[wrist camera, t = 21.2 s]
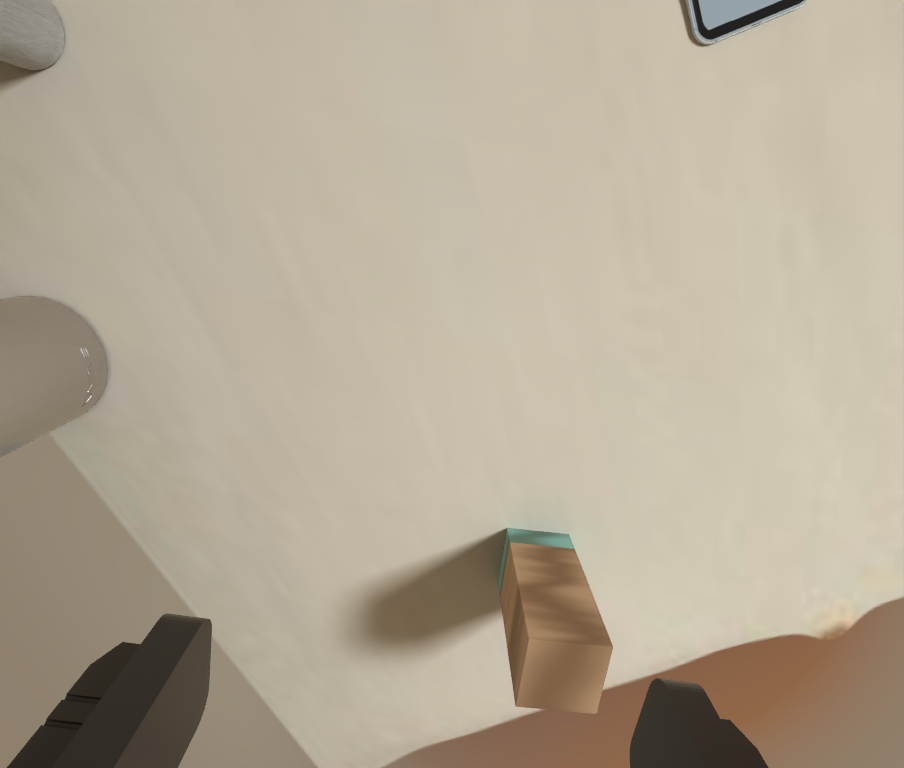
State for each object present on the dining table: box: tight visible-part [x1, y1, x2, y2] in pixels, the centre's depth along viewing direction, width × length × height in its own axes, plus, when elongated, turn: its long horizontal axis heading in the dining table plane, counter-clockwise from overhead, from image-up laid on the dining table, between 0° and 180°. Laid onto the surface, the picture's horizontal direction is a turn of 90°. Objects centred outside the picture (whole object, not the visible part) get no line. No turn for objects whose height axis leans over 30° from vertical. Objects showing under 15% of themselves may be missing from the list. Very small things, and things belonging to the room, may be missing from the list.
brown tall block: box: [498, 528, 613, 714], centre depth 38 cm, size 5×5×12 cm
